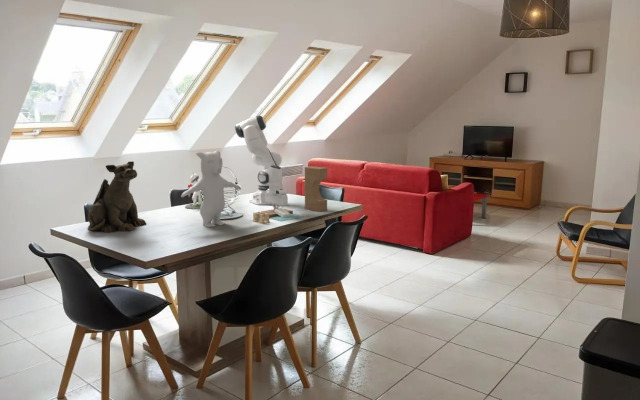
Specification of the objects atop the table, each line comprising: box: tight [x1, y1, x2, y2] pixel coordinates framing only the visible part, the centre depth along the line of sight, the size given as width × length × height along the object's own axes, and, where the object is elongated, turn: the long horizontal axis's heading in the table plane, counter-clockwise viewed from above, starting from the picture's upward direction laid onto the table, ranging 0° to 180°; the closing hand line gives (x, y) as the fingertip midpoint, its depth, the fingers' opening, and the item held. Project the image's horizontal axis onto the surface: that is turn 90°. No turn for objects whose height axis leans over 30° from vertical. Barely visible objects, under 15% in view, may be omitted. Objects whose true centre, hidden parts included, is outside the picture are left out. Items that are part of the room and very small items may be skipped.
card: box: [274, 207, 290, 218], centre depth 337 cm, size 9×6×2 cm, turn 43°
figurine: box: [184, 172, 203, 210], centre depth 368 cm, size 17×17×25 cm
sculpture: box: [87, 161, 147, 233], centre depth 301 cm, size 31×36×40 cm
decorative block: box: [304, 165, 328, 213], centre depth 358 cm, size 15×8×30 cm, turn 48°
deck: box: [255, 207, 294, 218], centre depth 343 cm, size 13×22×2 cm, turn 133°
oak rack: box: [252, 211, 271, 225], centre depth 321 cm, size 10×6×6 cm, turn 43°
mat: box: [269, 213, 305, 222], centre depth 334 cm, size 12×20×1 cm, turn 133°
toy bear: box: [180, 150, 242, 228], centre depth 309 cm, size 42×17×45 cm, turn 135°
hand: (276, 210), depth 341 cm, fingers closed
